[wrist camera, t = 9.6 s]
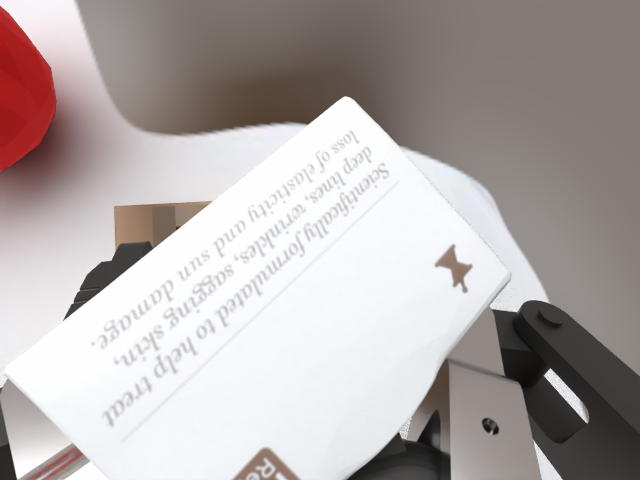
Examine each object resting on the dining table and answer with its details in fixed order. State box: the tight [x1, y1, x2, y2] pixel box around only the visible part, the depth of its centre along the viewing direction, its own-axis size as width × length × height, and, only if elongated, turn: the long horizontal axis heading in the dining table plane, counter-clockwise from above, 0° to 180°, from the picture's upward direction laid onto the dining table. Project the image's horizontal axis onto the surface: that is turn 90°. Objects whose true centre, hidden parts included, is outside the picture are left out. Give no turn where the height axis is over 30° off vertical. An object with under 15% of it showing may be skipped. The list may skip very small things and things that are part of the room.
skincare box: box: [5, 97, 512, 480], centre depth 10 cm, size 6×4×12 cm
